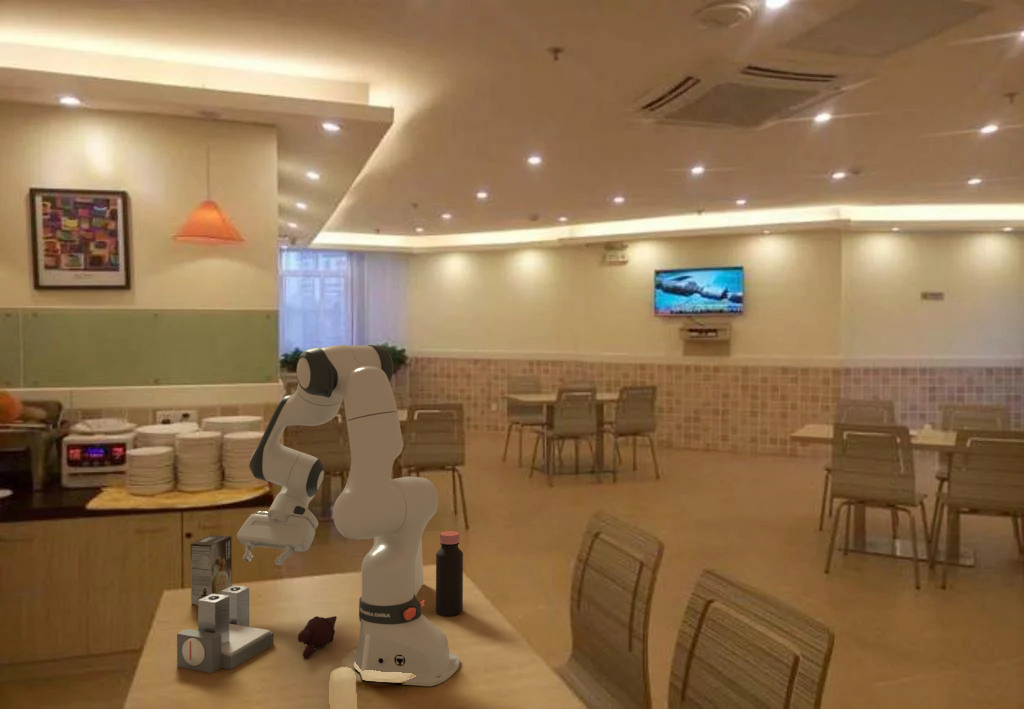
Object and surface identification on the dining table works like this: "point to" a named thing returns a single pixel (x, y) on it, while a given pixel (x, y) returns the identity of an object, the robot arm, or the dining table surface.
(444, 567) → the bottle
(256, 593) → the dining table surface
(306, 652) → the icecream
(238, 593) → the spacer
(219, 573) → the coffee box
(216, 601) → the post
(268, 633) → the scale
